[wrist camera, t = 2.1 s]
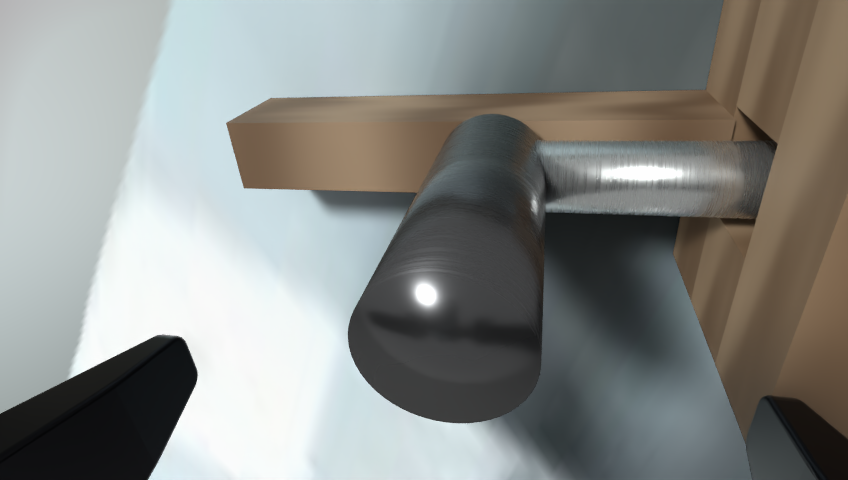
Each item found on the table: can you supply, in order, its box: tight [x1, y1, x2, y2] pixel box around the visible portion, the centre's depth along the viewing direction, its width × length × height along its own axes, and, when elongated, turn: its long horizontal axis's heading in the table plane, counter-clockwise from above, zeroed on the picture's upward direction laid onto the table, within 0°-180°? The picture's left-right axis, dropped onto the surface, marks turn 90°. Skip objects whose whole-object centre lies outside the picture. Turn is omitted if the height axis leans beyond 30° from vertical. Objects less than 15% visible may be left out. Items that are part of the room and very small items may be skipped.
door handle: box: [348, 114, 778, 423], centre depth 11 cm, size 13×3×8 cm, turn 94°
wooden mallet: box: [226, 0, 848, 443], centre depth 15 cm, size 18×10×9 cm, turn 94°
